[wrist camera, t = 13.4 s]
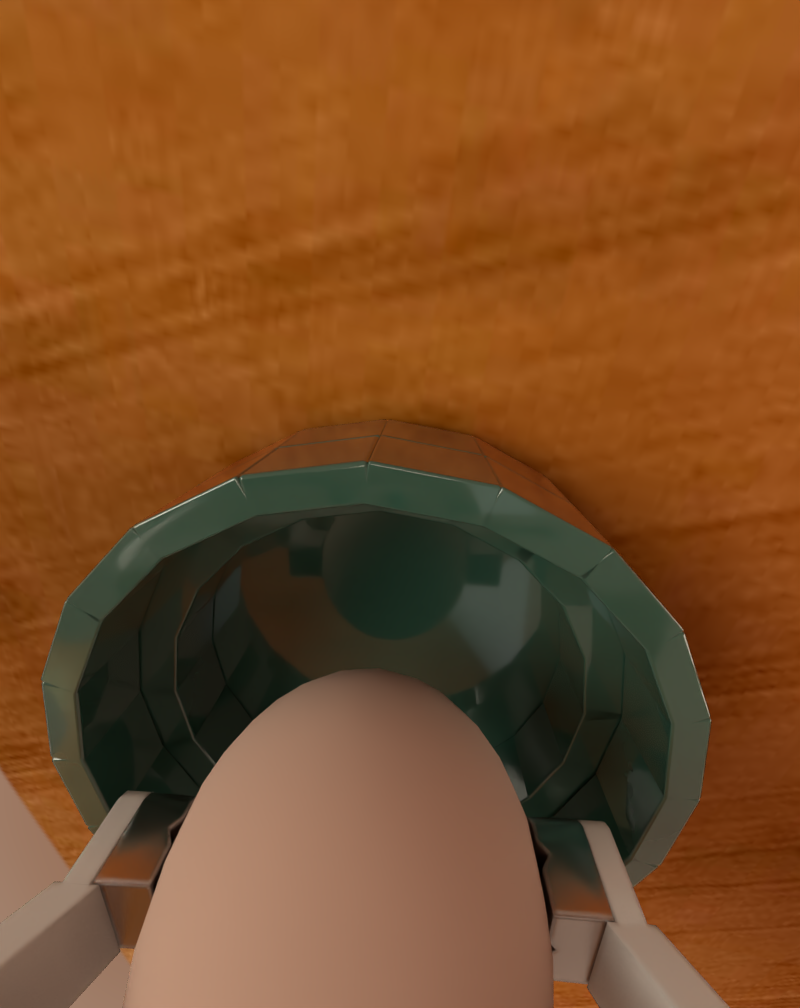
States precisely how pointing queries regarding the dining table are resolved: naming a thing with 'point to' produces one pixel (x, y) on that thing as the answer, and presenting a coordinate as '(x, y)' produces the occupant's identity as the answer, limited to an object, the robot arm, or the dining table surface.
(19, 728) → the dining table surface
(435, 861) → the egg
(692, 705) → the bowl
